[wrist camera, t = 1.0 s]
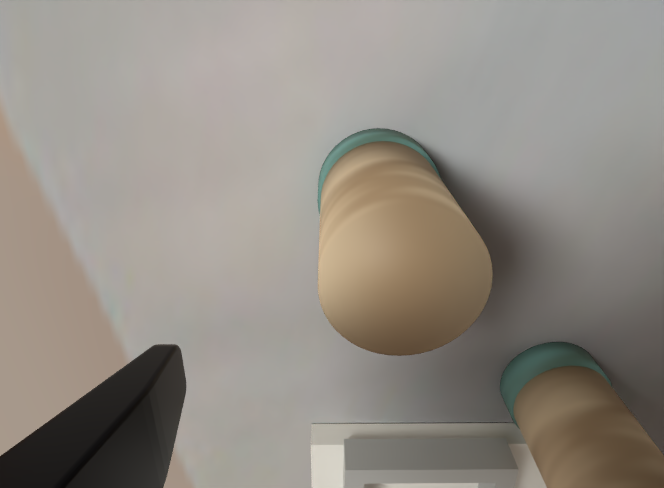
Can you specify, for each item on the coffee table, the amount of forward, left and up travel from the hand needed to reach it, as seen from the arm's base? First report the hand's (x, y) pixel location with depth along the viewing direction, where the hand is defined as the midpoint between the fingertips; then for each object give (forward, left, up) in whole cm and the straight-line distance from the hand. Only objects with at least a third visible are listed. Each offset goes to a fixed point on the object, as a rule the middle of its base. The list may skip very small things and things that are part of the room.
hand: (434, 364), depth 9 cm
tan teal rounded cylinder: (0, 0, -10) cm, 10 cm away
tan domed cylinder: (-8, +9, -10) cm, 16 cm away
